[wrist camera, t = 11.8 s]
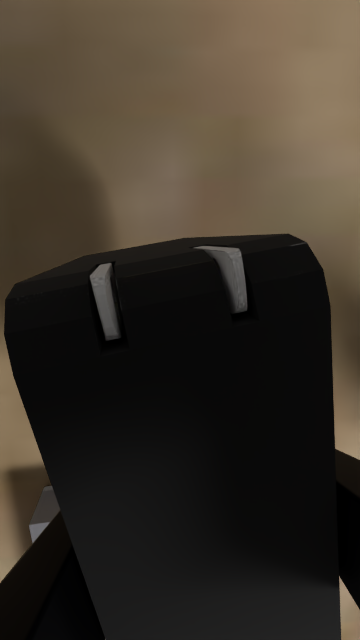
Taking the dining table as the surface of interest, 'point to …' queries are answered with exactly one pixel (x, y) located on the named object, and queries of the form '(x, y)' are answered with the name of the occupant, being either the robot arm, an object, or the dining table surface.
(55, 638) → the robot arm
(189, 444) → the electronic device
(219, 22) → the dining table surface
